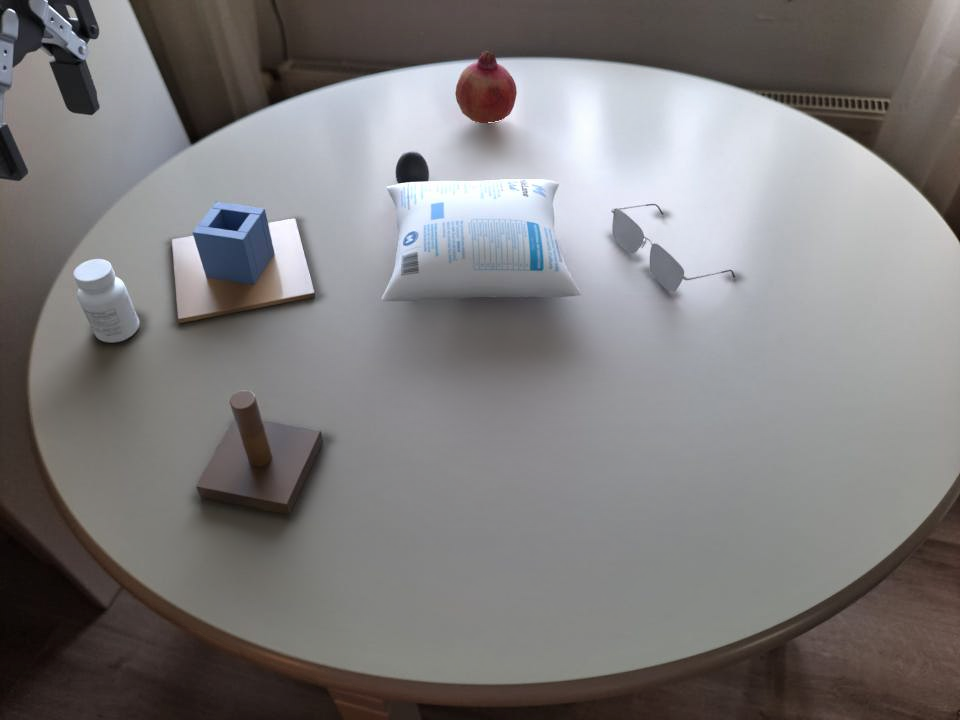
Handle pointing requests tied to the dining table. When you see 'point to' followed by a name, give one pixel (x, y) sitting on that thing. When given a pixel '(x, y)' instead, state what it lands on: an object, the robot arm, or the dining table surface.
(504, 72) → the fruit
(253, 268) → the blue pencil cup
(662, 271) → the eyeglasses
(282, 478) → the dowel stand
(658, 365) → the dining table surface
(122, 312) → the pill bottle
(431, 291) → the pouch
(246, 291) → the wooden board
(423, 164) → the black rounded dome
